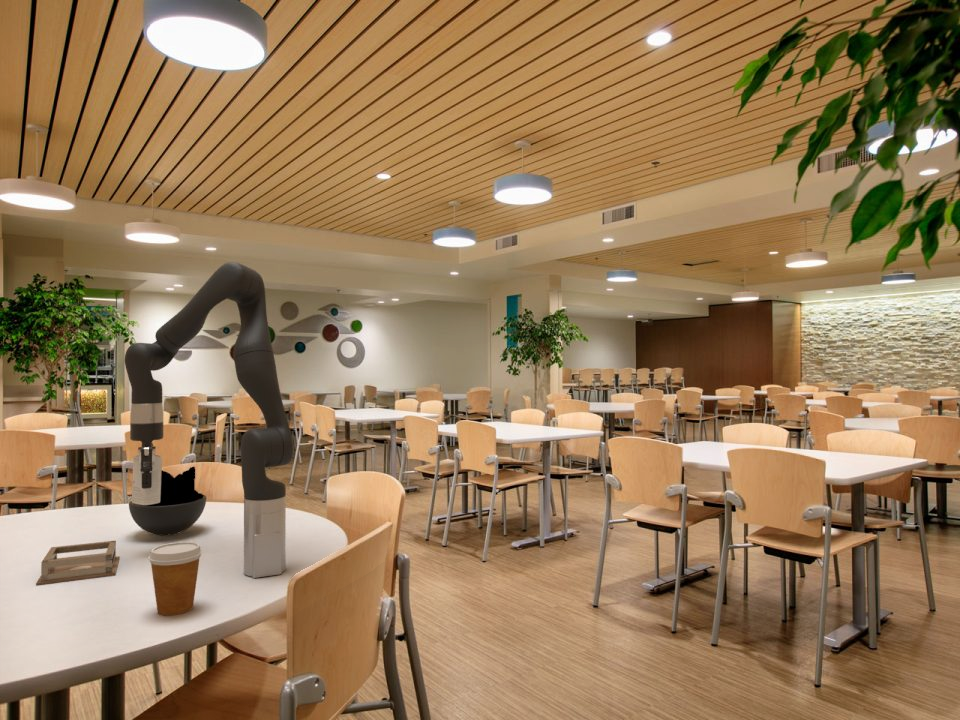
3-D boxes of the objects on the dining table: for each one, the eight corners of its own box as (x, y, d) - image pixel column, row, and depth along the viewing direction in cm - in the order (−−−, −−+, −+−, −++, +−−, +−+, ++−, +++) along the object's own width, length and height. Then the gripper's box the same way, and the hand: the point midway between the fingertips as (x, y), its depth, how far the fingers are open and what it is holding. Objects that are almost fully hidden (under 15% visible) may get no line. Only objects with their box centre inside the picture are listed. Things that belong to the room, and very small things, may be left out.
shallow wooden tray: (111, 572, 145) (111, 554, 145) (41, 581, 139) (41, 562, 139) (115, 557, 157) (115, 540, 157) (51, 564, 151) (51, 547, 151)
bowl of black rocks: (121, 546, 169) (121, 475, 169) (136, 529, 188) (136, 465, 188) (202, 540, 175) (202, 472, 175) (209, 523, 194) (209, 462, 194)
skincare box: (130, 503, 161) (130, 455, 161) (147, 500, 165) (147, 453, 165) (145, 505, 158) (145, 457, 158) (162, 502, 162) (162, 455, 162)
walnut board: (115, 575, 145) (115, 573, 145) (36, 585, 138) (36, 583, 138) (119, 558, 158) (119, 556, 158) (47, 566, 151) (47, 564, 151)
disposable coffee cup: (209, 600, 128) (209, 541, 129) (189, 618, 119) (190, 554, 119) (162, 601, 128) (162, 541, 128) (138, 619, 119) (138, 555, 119)
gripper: (163, 422, 157) (163, 489, 157) (163, 419, 170) (163, 480, 169) (129, 423, 154) (128, 491, 153) (131, 420, 166) (131, 483, 166)
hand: (146, 485), depth 161 cm, fingers closed on skincare box, 7 cm apart
